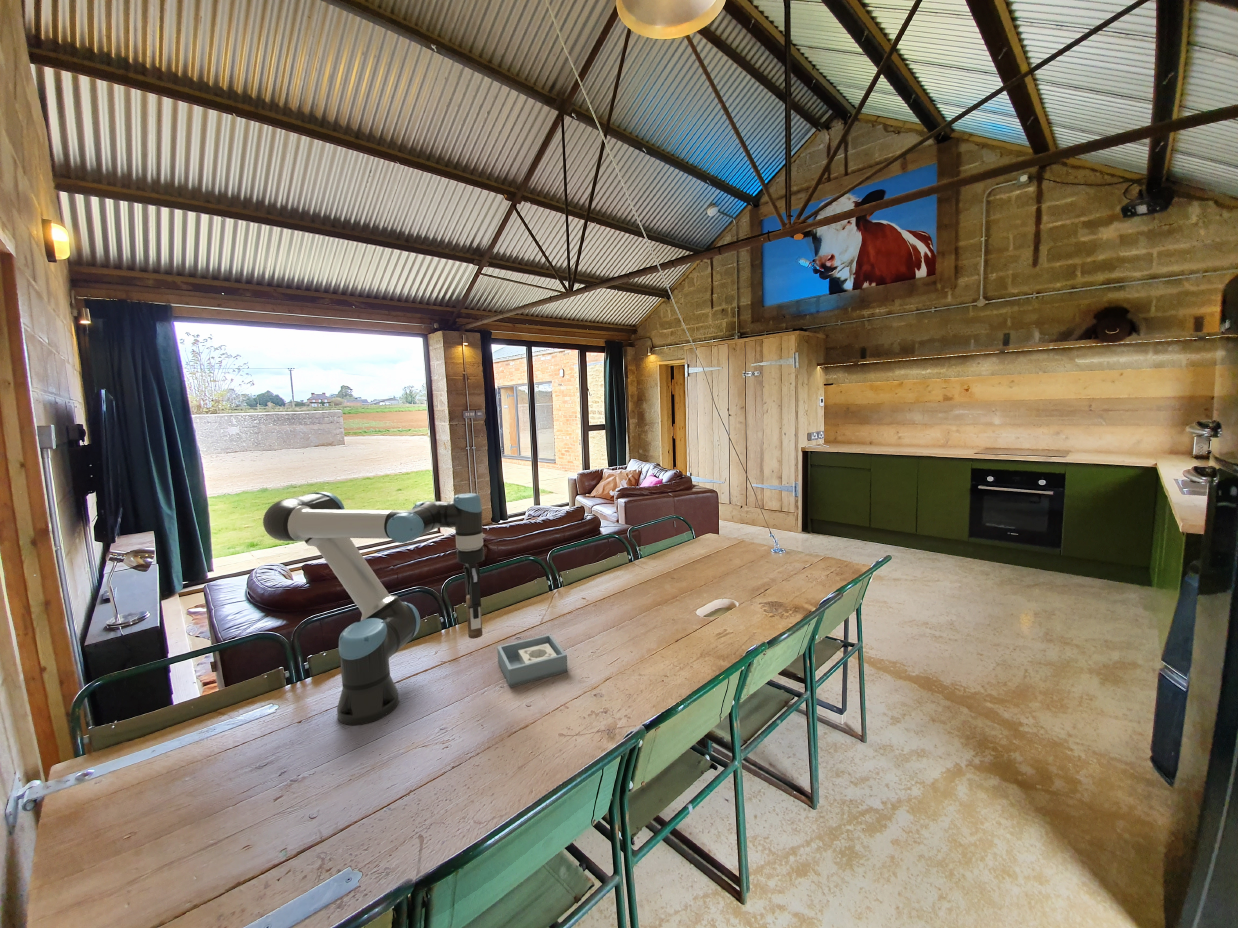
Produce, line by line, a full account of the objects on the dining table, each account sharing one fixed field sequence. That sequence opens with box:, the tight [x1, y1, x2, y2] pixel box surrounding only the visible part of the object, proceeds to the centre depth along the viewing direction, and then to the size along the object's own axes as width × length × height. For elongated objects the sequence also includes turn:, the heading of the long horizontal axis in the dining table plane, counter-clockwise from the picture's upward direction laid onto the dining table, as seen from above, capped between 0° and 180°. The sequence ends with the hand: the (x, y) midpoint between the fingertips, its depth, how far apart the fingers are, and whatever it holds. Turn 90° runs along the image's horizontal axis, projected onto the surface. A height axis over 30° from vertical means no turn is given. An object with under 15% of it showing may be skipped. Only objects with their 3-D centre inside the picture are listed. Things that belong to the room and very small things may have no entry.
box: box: [496, 633, 568, 688], centre depth 152 cm, size 18×16×6 cm
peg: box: [465, 595, 483, 640], centre depth 141 cm, size 4×4×12 cm
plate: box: [518, 643, 557, 664], centre depth 153 cm, size 10×10×3 cm
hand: (474, 624), depth 141 cm, fingers closed on peg, 4 cm apart
